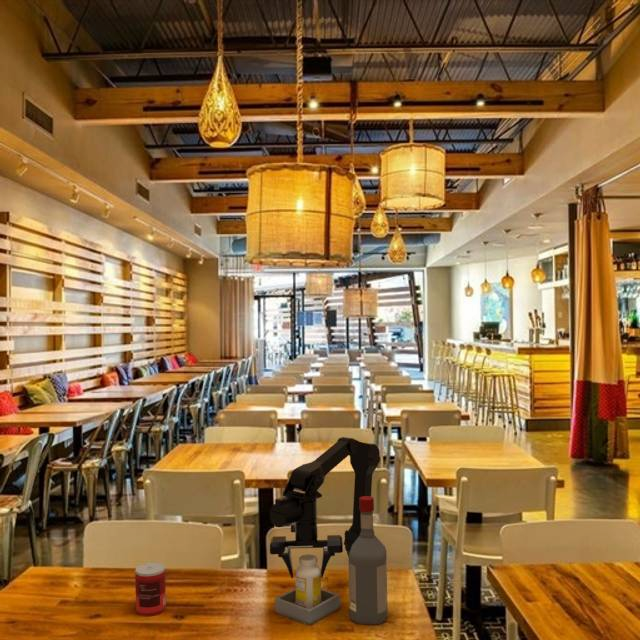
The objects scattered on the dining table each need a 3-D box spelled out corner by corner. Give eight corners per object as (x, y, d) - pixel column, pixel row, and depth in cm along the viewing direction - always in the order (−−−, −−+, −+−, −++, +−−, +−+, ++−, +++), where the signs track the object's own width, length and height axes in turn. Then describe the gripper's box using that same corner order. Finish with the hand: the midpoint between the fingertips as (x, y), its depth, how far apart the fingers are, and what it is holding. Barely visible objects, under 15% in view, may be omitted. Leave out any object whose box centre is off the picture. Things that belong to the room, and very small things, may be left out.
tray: (305, 596, 172) (305, 583, 172) (340, 608, 165) (339, 594, 165) (275, 612, 163) (274, 598, 163) (310, 625, 155) (309, 611, 155)
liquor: (388, 609, 163) (385, 493, 163) (385, 626, 154) (383, 503, 154) (353, 607, 165) (350, 492, 165) (348, 623, 156) (346, 502, 156)
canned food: (156, 600, 171) (155, 560, 171) (171, 609, 166) (171, 567, 166) (130, 609, 166) (129, 568, 166) (145, 619, 160) (144, 576, 160)
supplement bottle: (320, 601, 167) (320, 552, 168) (321, 612, 161) (321, 562, 161) (295, 601, 167) (295, 553, 167) (295, 613, 160) (295, 562, 161)
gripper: (340, 507, 172) (341, 564, 172) (272, 509, 172) (273, 566, 172) (342, 520, 161) (343, 581, 161) (269, 522, 161) (270, 583, 161)
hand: (307, 577), depth 164 cm, fingers open, 7 cm apart
